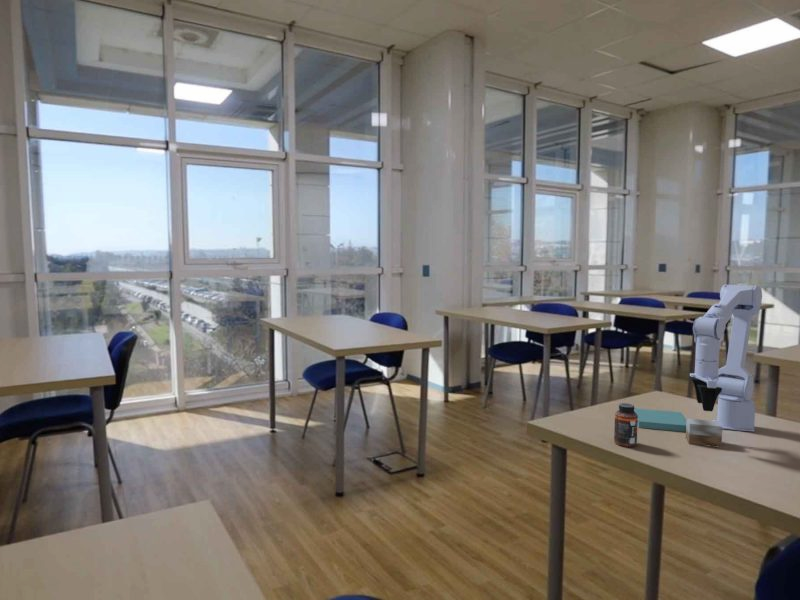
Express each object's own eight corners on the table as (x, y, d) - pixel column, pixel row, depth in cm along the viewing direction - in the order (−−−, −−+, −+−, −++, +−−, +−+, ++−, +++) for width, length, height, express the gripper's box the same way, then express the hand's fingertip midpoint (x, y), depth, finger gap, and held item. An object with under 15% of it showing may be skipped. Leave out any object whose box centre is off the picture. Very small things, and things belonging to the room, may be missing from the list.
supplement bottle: (639, 448, 144) (640, 408, 143) (616, 447, 145) (617, 407, 144) (634, 440, 150) (635, 402, 148) (612, 439, 151) (613, 401, 150)
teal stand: (681, 418, 169) (681, 412, 169) (689, 432, 156) (689, 425, 156) (634, 414, 174) (634, 408, 174) (638, 427, 161) (638, 421, 160)
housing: (716, 441, 149) (717, 421, 148) (721, 447, 144) (722, 426, 144) (685, 438, 152) (686, 418, 151) (688, 444, 147) (689, 423, 146)
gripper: (686, 353, 154) (684, 398, 155) (696, 364, 140) (694, 413, 141) (713, 355, 151) (711, 400, 153) (726, 365, 138) (723, 415, 139)
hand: (704, 406), depth 147 cm, fingers open, 7 cm apart
